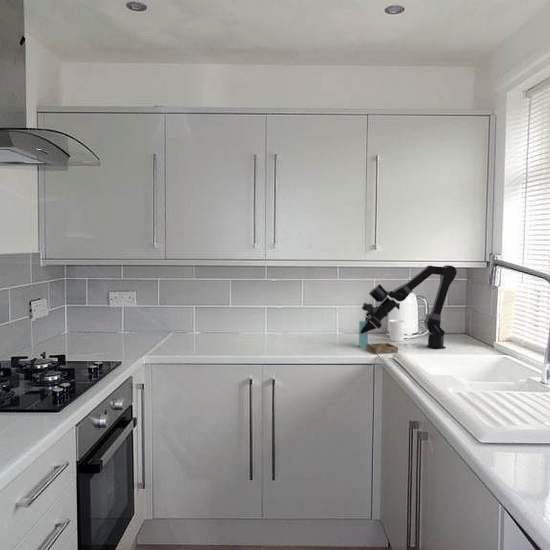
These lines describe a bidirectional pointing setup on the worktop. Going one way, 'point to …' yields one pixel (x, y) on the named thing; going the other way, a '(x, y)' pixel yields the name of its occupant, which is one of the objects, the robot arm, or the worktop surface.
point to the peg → (362, 335)
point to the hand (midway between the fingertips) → (360, 332)
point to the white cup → (396, 330)
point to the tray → (381, 348)
